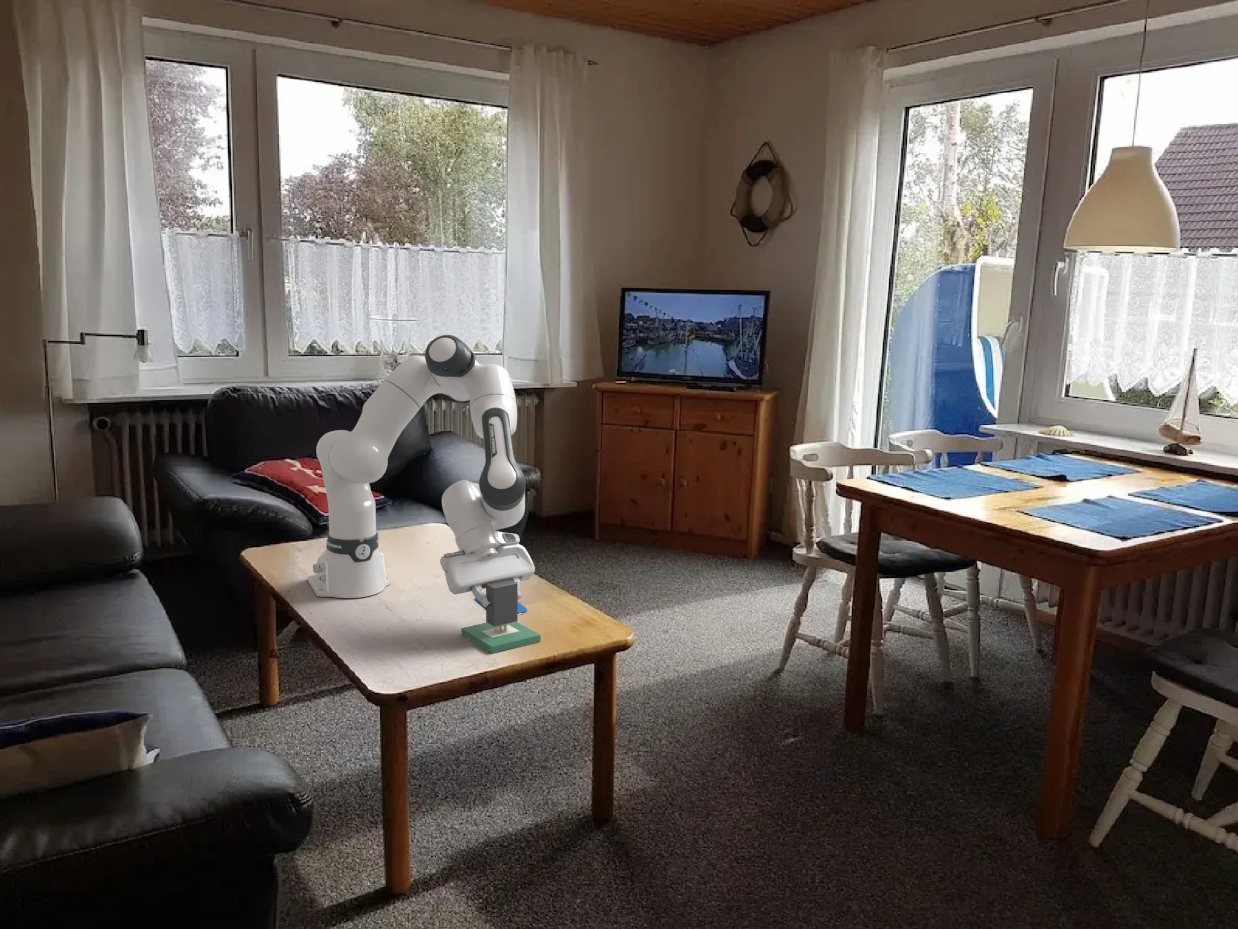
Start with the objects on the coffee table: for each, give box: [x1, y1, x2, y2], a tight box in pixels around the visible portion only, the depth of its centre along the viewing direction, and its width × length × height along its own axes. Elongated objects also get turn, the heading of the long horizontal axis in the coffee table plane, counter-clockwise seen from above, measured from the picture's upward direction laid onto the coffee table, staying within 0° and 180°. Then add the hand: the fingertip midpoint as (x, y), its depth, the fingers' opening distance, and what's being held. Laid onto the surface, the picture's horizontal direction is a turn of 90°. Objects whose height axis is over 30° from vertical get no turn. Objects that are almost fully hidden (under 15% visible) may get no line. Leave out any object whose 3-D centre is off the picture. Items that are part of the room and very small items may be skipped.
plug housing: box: [485, 580, 519, 627], centre depth 206 cm, size 3×6×8 cm, turn 128°
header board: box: [460, 621, 541, 654], centre depth 207 cm, size 13×12×4 cm
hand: (503, 602), depth 205 cm, fingers closed on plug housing, 6 cm apart
